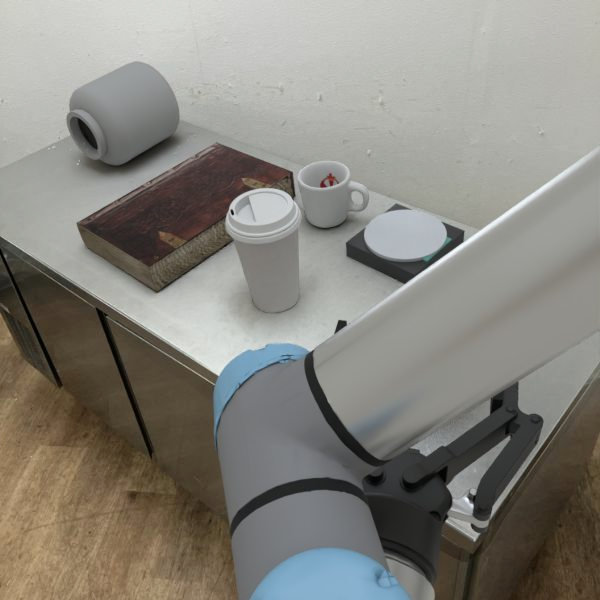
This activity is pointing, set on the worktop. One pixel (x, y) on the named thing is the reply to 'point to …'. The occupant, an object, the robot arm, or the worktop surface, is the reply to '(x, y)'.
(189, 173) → the hardback book
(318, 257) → the worktop surface
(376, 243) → the scale
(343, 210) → the cup
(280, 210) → the coffee cup
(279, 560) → the robot arm
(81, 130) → the jar
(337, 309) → the worktop surface
